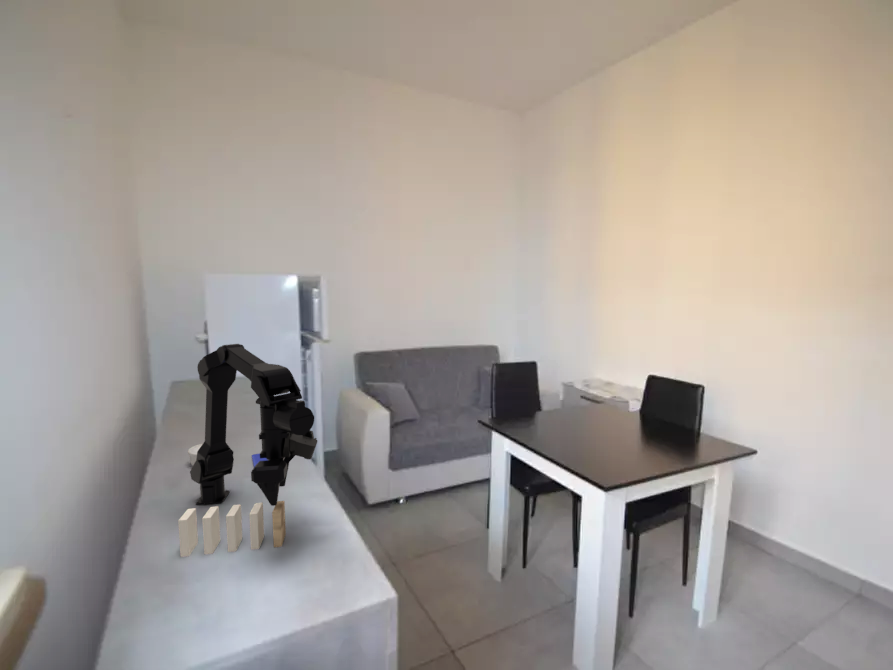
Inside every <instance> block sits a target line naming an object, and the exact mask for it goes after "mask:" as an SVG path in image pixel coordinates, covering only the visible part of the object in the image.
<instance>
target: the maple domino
mask: <svg viewBox="0 0 893 670" xmlns="http://www.w3.org/2000/svg"><path fill="white" fill-rule="evenodd" d="M285 505H286V504H285V500H277V505H274V507H273V509H272V513H271V514H272V532H273V533H272V536H273V537H272V538H273V540H272V541H273V548H282V547H283V544H284V542H285V537H286V535H287V533H286V528H287V527H286V506H285Z"/></svg>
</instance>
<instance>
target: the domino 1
mask: <svg viewBox="0 0 893 670" xmlns="http://www.w3.org/2000/svg"><path fill="white" fill-rule="evenodd" d="M197 520H198V519H197V508H194V507H193V508H187V509H186V511H185V512H184V513H183V514H182V516H180V518H179V519H178V520H177V522H178V524H177V525H178V536H179V550H180V551H179V552H180V558H184V557H185V558H186V557H190V556H191V554H192V553H193V551H194V549H195V548H196V547H197V546H198V544H199V535H198V521H197Z"/></svg>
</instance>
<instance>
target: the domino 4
mask: <svg viewBox="0 0 893 670" xmlns="http://www.w3.org/2000/svg"><path fill="white" fill-rule="evenodd" d="M263 504H264V503H263V502H256V503H254V504H253V506H252V508H251V510H250V513H249V515H248V516H249V517H248V518H249V533H250V534H249V535H250V550H251V551H253V550H254V551H255V550H259V549H260V547H261V545H262V543H263V540H264V538H265V523H264V505H263Z"/></svg>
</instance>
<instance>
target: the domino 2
mask: <svg viewBox="0 0 893 670" xmlns="http://www.w3.org/2000/svg"><path fill="white" fill-rule="evenodd" d="M219 509H220V508H219V505H216V506H210V507H209V509H208V510H207V511H206V513H205V514H204V515H203V517H202V532H203V533H202V534H203V537H202V538H203V549H204V551H203V552H204V555H206V556H207V555H213V554H214V553H215V551H216V550H217V547H218V546H219V544H220V542H221V541H222V540H221V526H220V525H221V524H220V510H219Z"/></svg>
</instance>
